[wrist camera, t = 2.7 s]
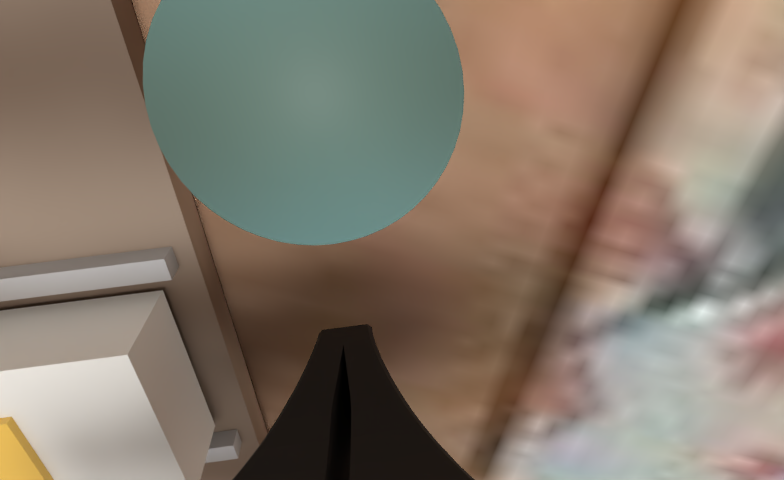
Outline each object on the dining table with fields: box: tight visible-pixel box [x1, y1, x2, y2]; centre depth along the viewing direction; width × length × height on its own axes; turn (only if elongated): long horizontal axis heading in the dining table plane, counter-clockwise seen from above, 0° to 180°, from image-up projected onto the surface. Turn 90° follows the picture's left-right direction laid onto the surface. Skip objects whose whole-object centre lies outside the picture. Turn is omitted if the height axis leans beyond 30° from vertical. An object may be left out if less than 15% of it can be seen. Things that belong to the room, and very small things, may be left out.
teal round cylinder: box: [143, 0, 464, 245], centre depth 8 cm, size 4×4×7 cm
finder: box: [0, 290, 215, 480], centre depth 13 cm, size 5×6×3 cm
